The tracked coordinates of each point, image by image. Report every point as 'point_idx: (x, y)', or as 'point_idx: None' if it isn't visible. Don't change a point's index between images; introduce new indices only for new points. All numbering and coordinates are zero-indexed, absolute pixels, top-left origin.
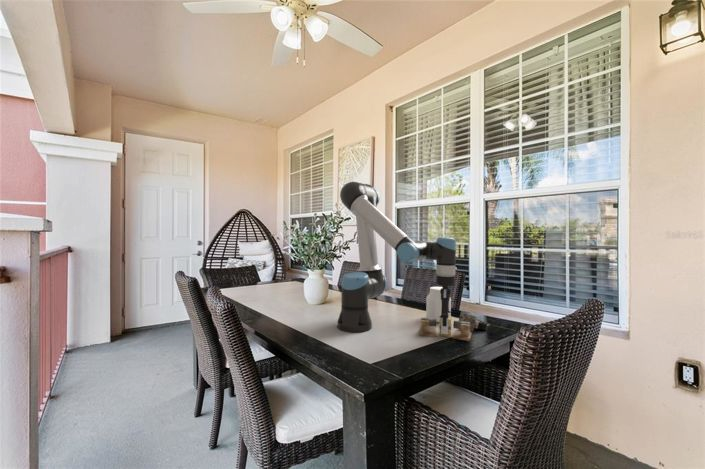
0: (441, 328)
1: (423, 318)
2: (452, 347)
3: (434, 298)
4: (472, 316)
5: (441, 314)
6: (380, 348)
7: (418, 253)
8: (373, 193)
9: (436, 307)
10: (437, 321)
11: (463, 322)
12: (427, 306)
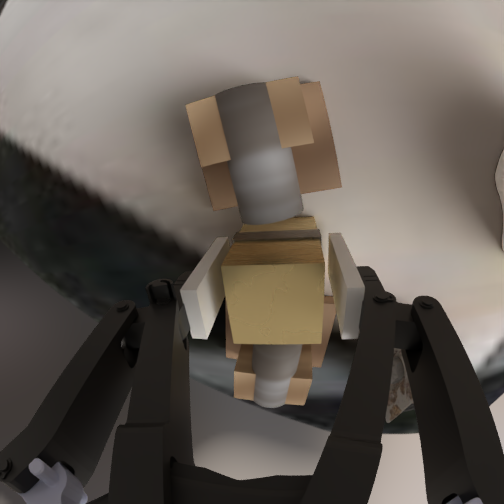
0: (207, 252)
1: (237, 105)
2: (116, 287)
3: None
4: (395, 412)
5: (105, 315)
6: (17, 63)
7: None
8: None
9: None
10: (499, 192)
11: (264, 387)
12: None
